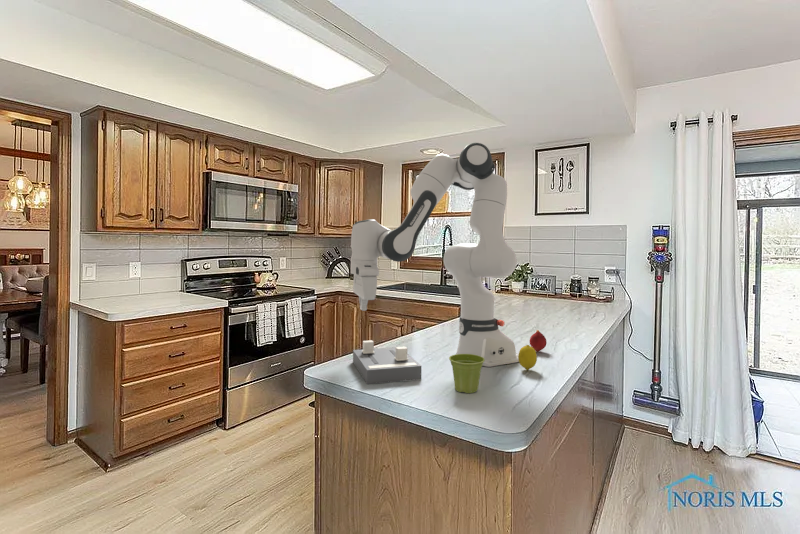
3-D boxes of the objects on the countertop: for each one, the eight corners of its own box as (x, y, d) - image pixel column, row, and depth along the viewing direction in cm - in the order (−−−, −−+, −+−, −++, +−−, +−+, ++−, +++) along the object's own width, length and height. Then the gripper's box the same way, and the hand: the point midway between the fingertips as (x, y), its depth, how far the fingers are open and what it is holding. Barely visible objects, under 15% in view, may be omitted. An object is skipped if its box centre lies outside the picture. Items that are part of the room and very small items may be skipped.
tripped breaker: (372, 350, 139) (372, 340, 139) (374, 353, 136) (374, 342, 136) (361, 351, 138) (361, 340, 138) (363, 353, 135) (363, 342, 135)
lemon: (537, 373, 131) (538, 347, 130) (518, 372, 132) (519, 346, 131) (535, 368, 136) (536, 343, 136) (517, 366, 137) (518, 342, 137)
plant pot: (460, 398, 110) (461, 365, 110) (442, 386, 119) (443, 355, 118) (490, 393, 114) (491, 361, 113) (471, 382, 122) (471, 352, 122)
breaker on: (405, 357, 131) (405, 346, 131) (408, 360, 129) (408, 348, 128) (394, 358, 130) (394, 346, 130) (396, 360, 128) (397, 349, 127)
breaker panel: (399, 358, 145) (399, 346, 145) (421, 379, 124) (421, 365, 124) (352, 362, 141) (353, 349, 140) (367, 384, 120) (367, 369, 119)
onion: (547, 351, 157) (548, 329, 156) (543, 354, 152) (544, 332, 151) (531, 348, 160) (532, 327, 159) (527, 352, 155) (527, 330, 154)
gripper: (349, 266, 151) (348, 305, 152) (360, 270, 131) (359, 315, 132) (366, 266, 153) (366, 305, 153) (380, 270, 133) (379, 315, 134)
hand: (363, 310), depth 143 cm, fingers closed
